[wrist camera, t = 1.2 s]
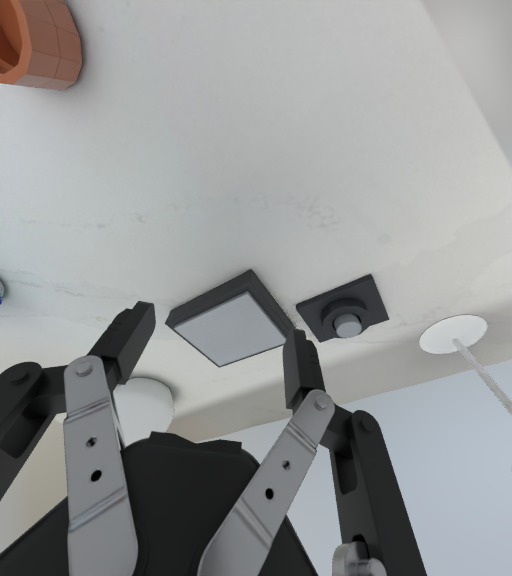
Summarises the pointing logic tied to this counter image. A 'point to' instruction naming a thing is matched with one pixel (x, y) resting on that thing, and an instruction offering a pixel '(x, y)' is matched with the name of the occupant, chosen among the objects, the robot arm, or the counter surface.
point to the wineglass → (461, 345)
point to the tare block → (343, 307)
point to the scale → (232, 321)
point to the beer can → (1, 291)
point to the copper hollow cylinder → (38, 44)
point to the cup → (143, 408)
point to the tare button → (347, 325)
